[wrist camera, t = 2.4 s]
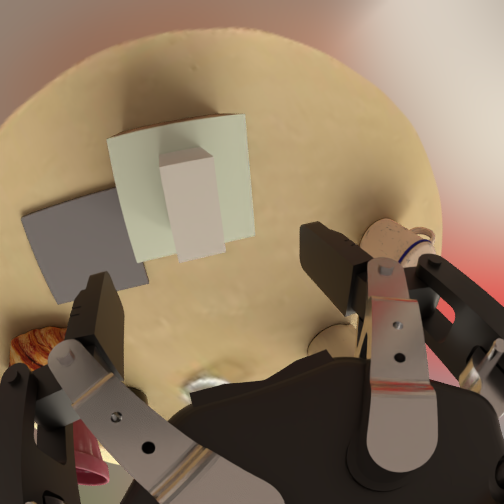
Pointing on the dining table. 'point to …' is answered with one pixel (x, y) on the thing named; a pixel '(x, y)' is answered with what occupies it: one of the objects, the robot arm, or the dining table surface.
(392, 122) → the dining table surface
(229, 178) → the lid
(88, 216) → the rubber pad
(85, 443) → the plant pot
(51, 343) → the croissant
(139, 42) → the dining table surface
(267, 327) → the dining table surface
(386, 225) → the teacup with lid
